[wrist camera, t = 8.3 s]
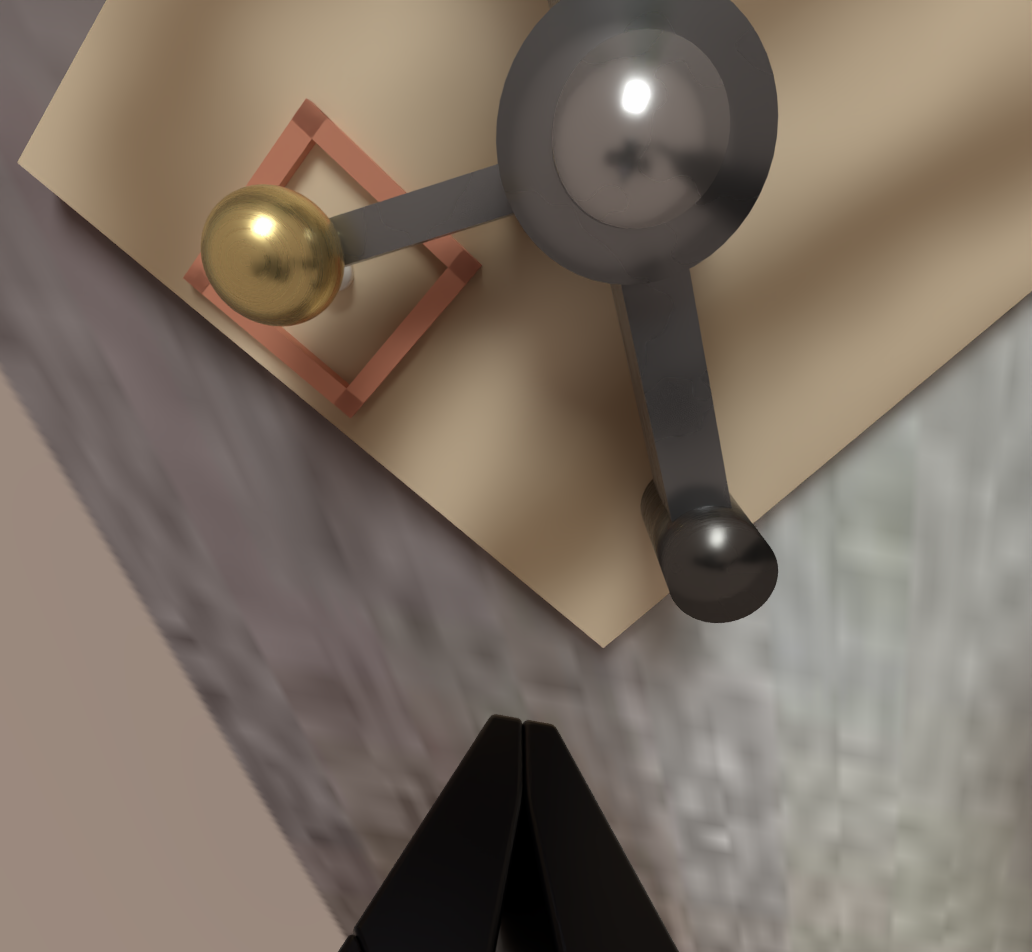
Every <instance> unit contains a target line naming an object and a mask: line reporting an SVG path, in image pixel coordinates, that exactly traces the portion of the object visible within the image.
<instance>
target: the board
mask: <svg viewBox="0 0 1032 952" xmlns="http://www.w3.org/2000/svg"><path fill="white" fill-rule="evenodd" d="M730 1H732V2H733V3H734V4H735V5H736V6H737V7H738V9H739V10H740V11H741V12H742V13H743V14H744V15H745V16H746V18H747V19H748V20H749V22H750V23H751V25H752V26H753V28H754V30H755V31H756V33H757V34H758V36H759V38H760V40H761V42H762V44H763V46H764V48H765V51H766V53H767V55H768V58H769V61H770V65H771V68H772V71H773V74H774V80H775V85H776V91H777V100H778V130H777V140H776V145H775V151H774V156H773V160H772V163H771V167H770V170H769V173H768V177H767V179H766V181H765V184H764V186H763V188H762V191H761V193H760V195H759V197H758V199H757V201H756V202H755V204H754V206H753V208H752V209H751V211H750V213H749V214H748V216H747V217H746V218H745V220H744V221H743V223H742V224H741V225H740V227H739V228H738V229H737V230H736V232H735V233H734V234H733V235H732V236H731V237H730V238H729V239H728V240H727V241H726V242H725V243H724V244H723V245H722V246H721V247H720V248H719V249H717V250H716V251H715V252H714V253H713V254H712V255H710V256H709V257H707V258H706V259H704V260H703V261H702V262H700V263H699V264H697V265H696V266H694V267H692V268H690V274H691V280H692V286H693V291H694V297H695V303H696V308H697V314H698V320H699V325H700V331H701V337H702V342H703V348H704V354H705V359H706V365H707V371H708V376H709V382H710V388H711V393H712V399H713V405H714V410H715V416H716V422H717V427H718V433H719V439H720V444H721V450H722V456H723V461H724V467H725V473H726V478H727V484H728V490H729V493H730V494H731V495H732V497H733V498H734V499H735V501H736V502H737V503H738V505H739V506H740V507H741V509H742V510H743V511H744V513H745V514H746V515H747V517H748V518H749V519H750V521H751V522H752V523H754V522H755V521H757V520H758V519H759V518H760V517H761V516H763V515H764V514H765V513H766V512H767V511H769V510H770V509H771V508H772V507H773V506H775V505H776V504H777V503H778V502H779V501H781V500H782V499H783V498H784V497H785V496H787V495H788V494H789V493H790V492H791V491H793V490H794V489H795V488H796V487H797V486H799V485H800V484H801V483H802V482H803V481H805V480H806V479H807V478H808V477H809V476H811V475H812V474H813V473H814V472H815V471H817V470H818V469H819V468H820V467H821V466H823V465H824V464H825V463H826V462H827V461H828V460H830V459H831V458H832V457H833V456H834V455H836V454H837V453H838V452H839V451H840V450H842V449H843V448H844V447H845V446H846V445H848V444H849V443H850V442H851V441H852V440H854V439H855V438H856V437H857V436H858V435H860V434H861V433H862V432H863V431H864V430H866V429H867V428H868V427H869V426H870V425H872V424H873V423H874V422H875V421H876V420H878V419H879V418H880V417H881V416H882V415H884V414H885V413H886V412H887V411H888V410H890V409H891V408H892V407H893V406H894V405H896V404H897V403H898V402H899V401H900V400H902V399H903V398H904V397H905V396H906V395H908V394H909V393H910V392H911V391H912V390H914V389H915V388H916V387H917V386H918V385H920V384H921V383H922V382H923V381H924V380H926V379H927V378H928V377H929V376H930V375H932V374H933V373H934V372H935V371H936V370H938V369H939V368H940V367H941V366H942V365H944V364H945V363H946V362H947V361H948V360H950V359H951V358H952V357H953V356H954V355H956V354H957V353H958V352H959V351H960V350H962V349H963V348H964V347H965V346H966V345H968V344H969V343H970V342H971V341H972V340H974V339H975V338H976V337H977V336H978V335H980V334H981V333H982V332H983V331H984V330H986V329H987V328H988V327H989V326H990V325H992V324H993V323H994V322H995V321H996V320H998V319H999V318H1000V317H1001V316H1002V315H1004V314H1005V313H1006V312H1007V311H1008V310H1010V309H1011V308H1012V307H1013V306H1014V305H1016V304H1017V303H1018V302H1019V301H1020V300H1022V299H1023V298H1024V297H1025V296H1026V295H1028V294H1029V293H1030V292H1031V291H1032V0H730ZM549 10H550V9H549V4H548V0H106V2H105V4H104V6H103V7H102V9H101V11H100V13H99V15H98V17H97V18H96V20H95V22H94V24H93V26H92V27H91V29H90V31H89V33H88V35H87V37H86V38H85V40H84V42H83V44H82V46H81V47H80V49H79V51H78V53H77V55H76V57H75V58H74V60H73V62H72V64H71V66H70V68H69V69H68V71H67V73H66V75H65V77H64V78H63V80H62V82H61V84H60V86H59V88H58V89H57V91H56V93H55V95H54V97H53V98H52V100H51V102H50V104H49V106H48V108H47V109H46V111H45V113H44V115H43V117H42V118H41V120H40V122H39V124H38V126H37V128H36V129H35V131H34V133H33V135H32V137H31V139H30V140H29V142H28V144H27V146H26V148H25V149H24V151H23V153H22V155H21V157H20V159H19V160H18V162H17V163H18V164H20V165H21V166H22V167H23V168H25V169H26V170H27V171H28V172H29V173H31V174H32V175H33V176H34V177H35V178H37V179H38V180H39V181H40V182H41V183H43V184H44V185H45V186H46V187H47V188H49V189H50V190H51V191H52V192H53V193H55V194H56V195H57V196H58V197H60V198H61V199H62V200H63V201H64V202H66V203H67V204H68V205H69V206H70V207H72V208H73V209H74V210H75V211H76V212H78V213H79V214H80V215H81V216H82V217H84V218H85V219H86V220H87V221H88V222H90V223H91V224H92V225H93V226H95V227H96V228H97V229H98V230H99V231H101V232H102V233H103V234H104V235H105V236H107V237H108V238H109V239H110V240H111V241H113V242H114V243H115V244H116V245H117V246H119V247H120V248H121V249H122V250H123V251H125V252H126V253H127V254H128V255H130V256H131V257H132V258H133V259H134V260H136V261H137V262H138V263H139V264H140V265H142V266H143V267H144V268H145V269H146V270H148V271H149V272H150V273H151V274H152V275H154V276H155V277H156V278H157V279H158V280H160V281H161V282H162V283H163V284H165V285H166V286H167V287H168V288H169V289H171V290H172V291H173V292H174V293H175V294H177V295H178V296H179V297H180V298H181V299H183V300H184V301H185V302H186V303H187V304H189V305H190V306H191V307H192V308H193V309H195V310H196V311H197V312H198V313H199V314H201V315H202V316H203V317H204V318H206V319H207V320H208V321H209V322H210V323H212V324H213V325H214V326H215V327H216V328H218V329H219V330H220V331H221V332H222V333H224V334H225V335H226V336H227V337H228V338H230V339H231V340H232V341H233V342H234V343H236V344H237V345H238V346H239V347H241V348H242V349H243V350H244V351H245V352H247V353H248V354H249V355H250V356H251V357H253V358H254V359H255V360H256V361H257V362H259V363H260V364H261V365H262V366H263V367H265V368H266V369H267V370H268V371H269V372H271V373H272V374H273V375H274V376H276V377H277V378H278V379H279V380H280V381H282V382H283V383H284V384H285V385H286V386H288V387H289V388H290V389H291V390H292V391H294V392H295V393H296V394H297V395H298V396H300V397H301V398H302V399H303V400H304V401H306V402H307V403H308V404H309V405H311V406H312V407H313V408H314V409H315V410H317V411H318V412H319V413H320V414H321V415H323V416H324V417H325V418H326V419H327V420H329V421H330V422H331V423H332V424H333V425H335V426H336V427H337V428H338V429H339V430H341V431H342V432H343V433H344V434H345V435H347V436H348V437H349V438H350V439H352V440H353V441H354V442H355V443H356V444H358V445H359V446H360V447H361V448H362V449H364V450H365V451H366V452H367V453H368V454H370V455H371V456H372V457H373V458H374V459H376V460H377V461H378V462H379V463H380V464H382V465H383V466H384V467H385V468H387V469H388V470H389V471H390V472H391V473H393V474H394V475H395V476H396V477H397V478H399V479H400V480H401V481H402V482H403V483H405V484H406V485H407V486H408V487H409V488H411V489H412V490H413V491H414V492H415V493H417V494H418V495H419V496H420V497H422V498H423V499H424V500H425V501H426V502H428V503H429V504H430V505H431V506H432V507H434V508H435V509H436V510H437V511H438V512H440V513H441V514H442V515H443V516H444V517H446V518H447V519H448V520H449V521H450V522H452V523H453V524H454V525H455V526H457V527H458V528H459V529H460V530H461V531H463V532H464V533H465V534H466V535H467V536H469V537H470V538H471V539H472V540H473V541H475V542H476V543H477V544H478V545H479V546H481V547H482V548H483V549H484V550H485V551H487V552H488V553H489V554H490V555H492V556H493V557H494V558H495V559H496V560H498V561H499V562H500V563H501V564H502V565H504V566H505V567H506V568H507V569H508V570H510V571H511V572H512V573H513V574H514V575H516V576H517V577H518V578H519V579H520V580H522V581H523V582H524V583H525V584H526V585H528V586H529V587H530V588H531V589H533V590H534V591H535V592H536V593H537V594H539V595H540V596H541V597H542V598H543V599H545V600H546V601H547V602H548V603H549V604H551V605H552V606H553V607H554V608H555V609H557V610H558V611H559V612H560V613H561V614H563V615H564V616H565V617H566V618H568V619H569V620H570V621H571V622H572V623H574V624H575V625H576V626H577V627H578V628H580V629H581V630H582V631H583V632H584V633H586V634H587V635H588V636H589V637H590V638H592V639H593V640H594V641H595V642H596V643H598V644H599V645H600V646H601V647H603V648H604V647H605V646H607V645H608V644H609V643H610V642H611V641H613V640H614V639H615V638H616V637H617V636H619V635H620V634H621V633H622V632H623V631H625V630H626V629H627V628H628V627H629V626H631V625H632V624H633V623H634V622H635V621H637V620H638V619H639V618H640V617H641V616H643V615H644V614H645V613H646V612H647V611H649V610H650V609H651V608H652V607H653V606H655V605H656V604H657V603H658V602H659V601H661V600H662V599H663V598H664V597H665V596H667V595H668V594H669V593H670V592H669V589H668V587H667V584H666V581H665V578H664V576H663V573H662V570H661V567H660V565H659V562H658V559H657V557H656V554H655V551H654V548H653V546H652V543H651V540H650V538H649V535H648V532H647V529H646V527H645V524H644V521H643V518H642V515H641V498H642V495H643V492H644V490H645V488H646V487H647V485H648V484H649V482H650V481H651V480H652V479H653V476H652V471H651V467H650V462H649V458H648V453H647V449H646V444H645V440H644V435H643V431H642V426H641V422H640V417H639V412H638V408H637V403H636V399H635V394H634V390H633V385H632V381H631V376H630V372H629V367H628V363H627V358H626V353H625V349H624V344H623V340H622V335H621V331H620V326H619V322H618V317H617V313H616V308H615V304H614V299H613V295H612V290H611V285H610V284H609V283H604V282H599V281H594V280H591V279H588V278H585V277H583V276H580V275H577V274H575V273H574V272H572V271H570V270H568V269H566V268H564V267H562V266H561V265H559V264H558V263H557V262H555V261H554V260H552V259H551V258H549V257H548V256H547V255H546V254H545V253H544V252H543V251H542V250H541V249H540V248H538V247H537V246H536V244H535V243H534V242H533V241H532V240H531V238H530V237H529V236H528V235H527V234H526V232H525V231H524V229H523V228H522V226H521V225H520V223H519V222H518V220H517V218H516V217H515V215H513V216H510V217H506V218H503V219H500V220H497V221H493V222H490V223H487V224H484V225H480V226H477V227H474V228H471V229H467V230H464V231H461V232H458V233H454V234H451V236H452V237H453V238H454V239H456V240H457V241H458V242H459V243H460V244H461V245H462V246H463V247H464V248H465V249H466V250H467V251H468V252H469V253H470V254H471V255H472V256H473V257H474V258H475V259H476V260H477V261H478V262H479V263H480V264H482V266H481V268H480V269H479V270H478V271H477V272H476V273H475V275H474V276H473V277H472V278H471V279H470V280H469V282H468V283H467V284H466V285H465V286H464V287H463V289H462V290H461V291H460V292H459V293H458V294H457V296H456V297H455V298H454V299H453V300H452V301H451V303H450V304H449V305H448V306H447V307H446V308H445V310H444V311H443V312H442V313H441V314H440V315H439V317H438V318H437V319H436V320H435V321H434V322H433V324H432V325H431V326H430V327H429V328H428V329H427V331H426V332H425V333H424V334H423V335H422V336H421V338H420V339H419V340H418V341H417V342H416V343H415V345H414V346H413V347H412V348H411V349H410V350H409V352H408V353H407V354H406V355H405V356H404V357H403V359H402V360H401V361H400V362H399V363H398V364H397V366H396V367H395V368H394V369H393V370H392V371H391V373H390V374H389V375H388V376H387V377H386V378H385V380H384V381H383V382H382V383H381V384H380V385H379V387H378V388H377V389H376V390H375V391H374V392H373V394H372V395H371V396H370V397H369V398H368V399H367V401H366V402H365V403H364V404H363V405H362V406H361V408H360V409H359V410H358V411H357V412H356V413H355V415H354V416H353V417H352V418H349V417H348V416H347V415H346V414H345V413H343V412H342V411H341V410H340V409H339V408H337V407H336V406H335V405H334V404H333V403H331V402H330V401H329V400H328V399H327V398H325V397H324V396H323V395H322V394H321V393H319V392H318V391H317V390H316V389H315V388H313V387H312V386H311V385H310V384H309V383H308V382H306V381H305V380H304V379H303V378H302V377H300V376H299V375H298V374H297V373H296V372H294V371H293V370H292V369H291V368H290V367H288V366H287V365H286V364H285V363H284V362H282V361H281V360H280V359H279V358H278V357H276V356H275V355H274V354H273V353H272V352H271V351H269V350H268V349H267V348H266V347H265V346H263V345H262V344H261V343H260V342H259V341H257V340H256V339H255V338H254V337H253V336H251V335H250V334H249V333H248V332H247V331H245V330H244V329H243V328H242V327H241V326H239V325H238V324H237V323H236V322H235V321H234V320H232V319H231V318H230V317H229V316H228V315H226V314H225V313H224V312H223V311H222V310H220V309H219V308H218V307H217V306H216V305H214V304H213V303H212V302H211V301H210V300H208V299H207V298H206V297H205V296H204V295H202V294H201V293H200V292H199V291H198V290H196V289H195V288H194V287H193V286H192V285H191V284H189V283H188V282H187V281H186V280H185V279H183V277H184V275H185V274H186V273H187V271H188V270H189V268H190V267H191V265H192V264H193V262H194V261H195V259H196V258H197V256H198V255H199V254H200V252H201V236H202V231H203V227H204V224H205V222H206V219H207V217H208V215H209V214H210V212H211V210H212V209H213V208H214V207H215V206H216V204H217V203H218V202H219V201H220V200H222V199H223V198H224V197H225V196H227V195H228V194H230V193H231V192H233V191H235V190H238V189H240V188H243V187H245V186H246V185H247V184H248V182H249V181H250V179H251V178H252V176H253V175H254V173H255V172H256V170H257V169H258V167H259V166H260V165H261V163H262V162H263V160H264V159H265V157H266V156H267V154H268V153H269V151H270V150H271V148H272V147H273V146H274V144H275V143H276V141H277V140H278V138H279V137H280V135H281V134H282V132H283V131H284V130H285V128H286V127H287V125H288V124H289V122H290V121H291V119H292V118H293V116H294V115H295V113H296V112H297V111H298V109H299V108H300V106H301V105H302V103H303V102H304V100H305V99H306V98H307V99H309V100H310V101H312V102H313V103H314V104H315V105H316V106H317V107H318V108H319V109H320V110H321V111H322V112H323V113H324V114H326V115H327V116H328V117H329V118H330V119H331V120H332V121H333V122H334V123H335V124H336V125H337V126H338V127H339V128H340V129H341V130H342V131H343V132H344V133H345V134H346V135H347V136H348V137H349V138H350V139H352V140H353V141H354V142H355V143H356V144H357V145H358V146H359V147H360V148H361V149H362V150H363V151H364V152H365V153H366V154H367V155H368V156H369V157H370V158H371V159H372V160H373V161H374V162H375V163H376V164H378V165H379V166H380V167H381V168H382V169H383V170H384V171H385V172H386V173H387V174H388V175H389V176H390V177H391V178H392V179H393V180H394V181H395V182H396V183H397V184H398V185H399V186H400V187H401V188H402V189H404V190H405V191H406V192H407V193H409V192H412V191H415V190H418V189H421V188H424V187H427V186H430V185H434V184H437V183H440V182H443V181H446V180H449V179H452V178H455V177H459V176H462V175H465V174H468V173H471V172H474V171H477V170H480V169H484V168H487V167H490V166H493V165H496V164H498V162H497V150H496V125H497V116H498V109H499V103H500V98H501V94H502V91H503V87H504V83H505V80H506V77H507V75H508V72H509V70H510V68H511V65H512V63H513V60H514V58H515V57H516V55H517V53H518V51H519V49H520V47H521V46H522V44H523V42H524V40H525V39H526V38H527V36H528V35H529V33H530V32H531V31H532V29H533V28H534V27H535V25H536V24H537V23H538V22H539V21H540V20H541V18H542V17H543V16H544V15H545V14H546V13H547V12H548V11H549ZM285 188H288V189H291V190H294V191H296V192H298V193H300V194H302V195H304V196H305V197H307V198H308V199H310V200H311V201H313V202H314V203H315V204H316V205H317V206H318V207H320V208H321V210H322V211H323V212H324V213H325V214H326V215H327V216H328V218H331V217H334V216H337V215H340V214H343V213H346V212H349V211H352V210H356V209H359V208H362V207H365V206H368V205H371V204H374V203H377V202H378V201H377V200H376V199H375V198H374V197H373V196H372V195H371V194H370V193H369V192H368V191H367V190H366V189H364V188H363V187H362V186H361V185H360V184H359V183H358V182H357V181H356V180H355V179H354V178H353V177H352V176H351V175H350V174H349V173H348V172H346V171H345V170H344V169H343V168H342V167H341V166H340V165H339V164H338V163H337V162H336V161H335V160H334V159H333V158H332V157H331V156H330V155H328V154H327V153H326V152H325V151H324V150H323V149H322V148H321V147H320V146H319V145H318V144H317V143H316V144H315V145H314V147H313V148H312V149H311V151H310V152H309V154H308V155H307V156H306V158H305V159H304V161H303V162H302V163H301V165H300V166H299V168H298V169H297V171H296V172H295V173H294V175H293V176H292V178H291V179H290V180H289V182H288V183H287V185H286V186H285ZM447 268H448V267H447V266H446V265H445V264H444V263H443V262H442V261H441V260H440V259H438V258H437V257H436V256H435V255H434V254H433V253H432V252H431V251H430V250H429V249H428V248H427V247H426V246H425V245H424V244H423V243H422V244H419V245H416V246H412V247H409V248H406V249H403V250H399V251H396V252H393V253H390V254H386V255H383V256H380V257H377V258H373V259H370V260H367V261H364V262H360V263H357V264H354V265H353V269H354V277H353V281H352V283H351V284H350V285H349V287H347V288H346V289H344V290H341V291H338V293H337V295H336V297H335V299H334V300H333V301H332V303H331V304H330V305H329V306H328V307H327V308H326V310H325V311H323V312H322V313H321V314H319V315H318V316H316V317H315V318H313V319H311V320H309V321H307V322H304V323H302V324H298V325H293V326H284V327H283V328H284V329H285V330H286V331H287V332H288V333H290V334H291V335H292V336H293V337H294V338H296V339H297V340H298V341H299V342H300V343H301V344H303V345H304V346H305V347H306V348H307V349H308V350H310V351H311V352H312V353H313V354H314V355H315V356H317V357H318V358H319V359H320V360H321V361H323V362H324V363H325V364H326V365H327V366H328V367H330V368H331V369H332V370H333V371H334V372H335V373H337V374H338V375H339V376H340V377H341V378H342V379H344V380H345V381H346V382H347V383H348V384H349V385H350V384H351V382H352V381H353V380H354V379H355V378H356V376H357V375H358V374H359V373H360V372H361V370H362V369H363V368H364V367H365V366H366V364H367V363H368V362H369V361H370V360H371V359H372V357H373V356H374V355H375V354H376V353H377V351H378V350H379V349H380V348H381V347H382V345H383V344H384V343H385V342H386V341H387V339H388V338H389V337H390V336H391V335H392V333H393V332H394V331H395V330H396V329H397V327H398V326H399V325H400V324H401V323H402V322H403V320H404V319H405V318H406V317H407V316H408V314H409V313H410V312H411V311H412V310H413V308H414V307H415V306H416V305H417V304H418V302H419V301H420V300H421V299H422V298H423V296H424V295H425V294H426V293H427V292H428V290H429V289H430V288H431V287H432V286H433V284H434V283H435V282H436V281H437V280H438V279H439V277H440V276H441V275H442V274H443V273H444V271H445V270H446V269H447Z"/></svg>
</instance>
